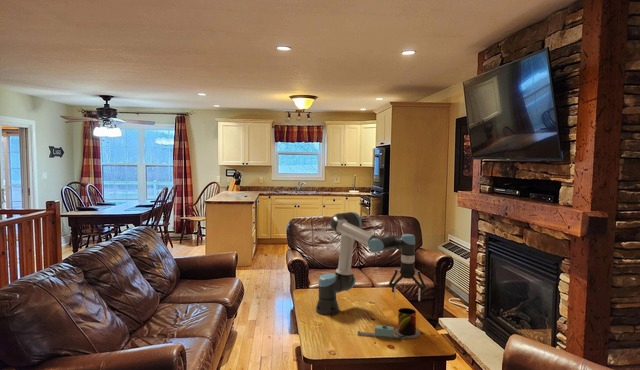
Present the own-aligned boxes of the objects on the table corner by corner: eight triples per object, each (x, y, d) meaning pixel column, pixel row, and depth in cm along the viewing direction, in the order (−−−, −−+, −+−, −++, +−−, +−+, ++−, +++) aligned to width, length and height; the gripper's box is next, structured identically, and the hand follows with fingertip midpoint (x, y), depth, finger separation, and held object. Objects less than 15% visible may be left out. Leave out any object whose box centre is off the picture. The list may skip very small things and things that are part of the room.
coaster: (394, 326, 222) (394, 325, 222) (419, 329, 219) (419, 327, 219) (394, 337, 208) (394, 335, 208) (420, 339, 205) (420, 338, 205)
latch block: (375, 332, 211) (375, 323, 211) (393, 333, 209) (393, 324, 209) (374, 335, 207) (374, 326, 207) (393, 337, 205) (393, 327, 205)
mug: (409, 325, 222) (409, 305, 222) (418, 335, 208) (418, 313, 208) (393, 326, 221) (393, 305, 220) (401, 336, 207) (402, 314, 207)
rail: (358, 333, 213) (358, 330, 213) (405, 338, 207) (405, 335, 207) (357, 335, 210) (357, 332, 210) (405, 339, 205) (405, 337, 205)
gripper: (384, 262, 211) (384, 299, 212) (431, 265, 205) (430, 303, 206) (385, 258, 218) (384, 294, 219) (430, 261, 212) (429, 298, 214)
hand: (406, 299), depth 213 cm, fingers open, 13 cm apart
